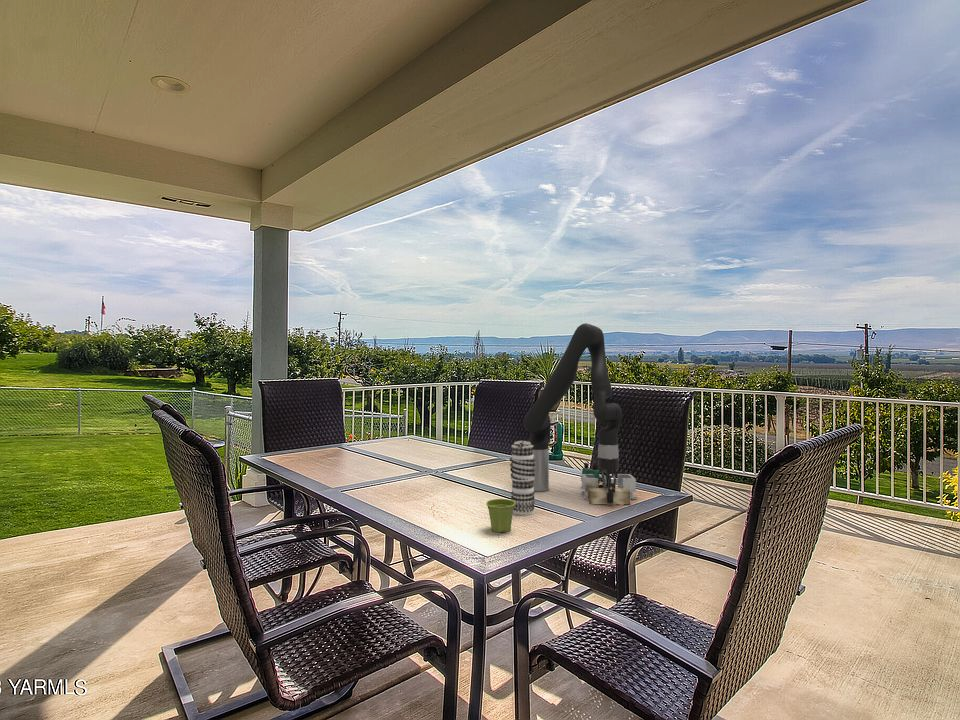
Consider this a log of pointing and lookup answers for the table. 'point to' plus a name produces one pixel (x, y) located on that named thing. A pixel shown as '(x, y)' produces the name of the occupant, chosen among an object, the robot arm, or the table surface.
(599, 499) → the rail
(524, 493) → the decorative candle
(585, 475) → the cup bracket
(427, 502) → the table surface
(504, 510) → the plant pot
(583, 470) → the binoculars
